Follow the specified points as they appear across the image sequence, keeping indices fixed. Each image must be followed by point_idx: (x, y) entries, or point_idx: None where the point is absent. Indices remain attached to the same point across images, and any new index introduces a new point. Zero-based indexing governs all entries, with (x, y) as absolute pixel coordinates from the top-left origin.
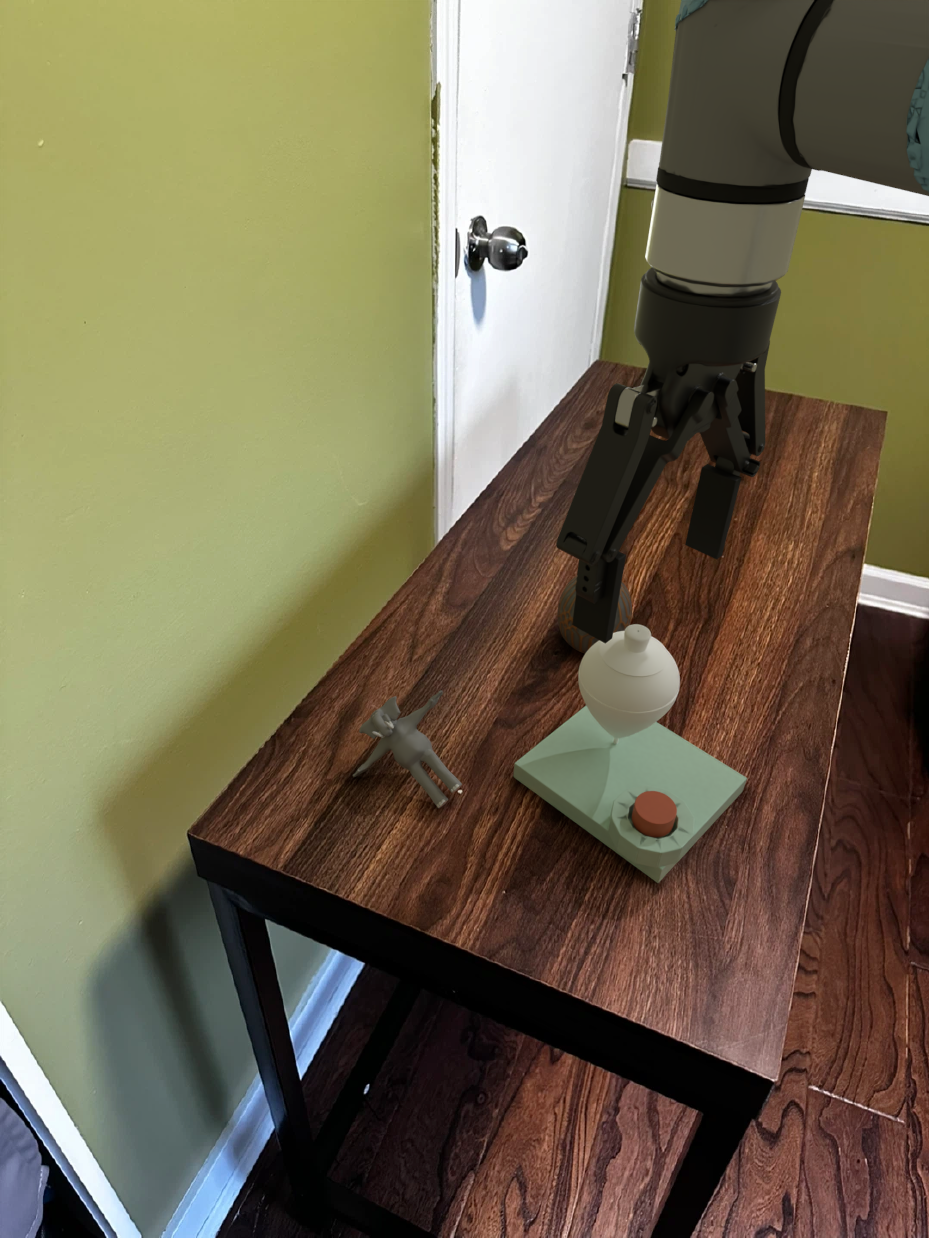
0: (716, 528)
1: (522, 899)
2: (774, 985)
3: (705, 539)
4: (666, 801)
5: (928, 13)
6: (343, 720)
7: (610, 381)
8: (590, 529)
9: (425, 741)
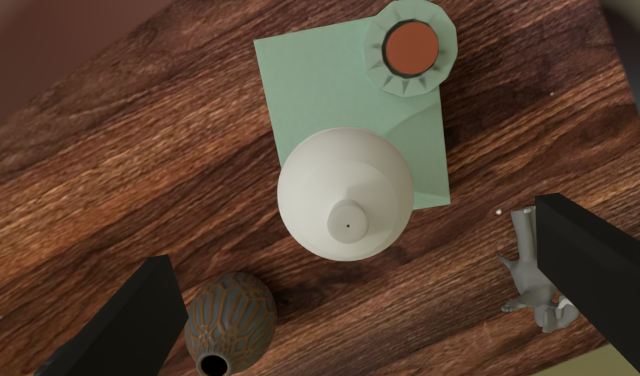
0: (143, 306)
1: (544, 76)
2: None
3: (165, 301)
4: (397, 46)
5: None
6: (525, 340)
7: None
8: None
9: (529, 270)
